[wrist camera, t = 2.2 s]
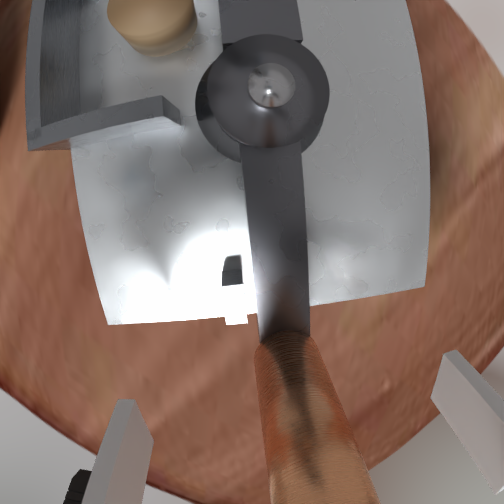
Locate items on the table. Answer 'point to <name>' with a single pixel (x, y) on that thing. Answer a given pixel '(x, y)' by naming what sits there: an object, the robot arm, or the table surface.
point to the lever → (284, 249)
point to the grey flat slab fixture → (231, 159)
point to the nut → (154, 24)
